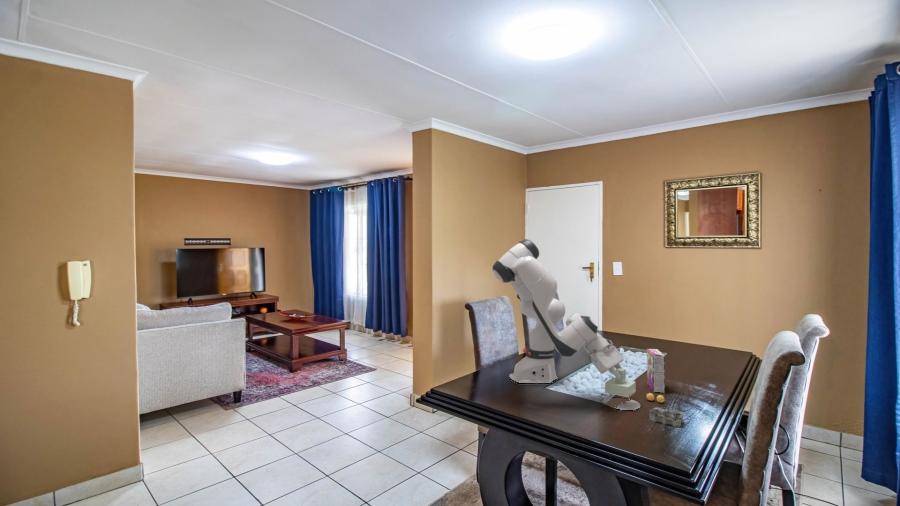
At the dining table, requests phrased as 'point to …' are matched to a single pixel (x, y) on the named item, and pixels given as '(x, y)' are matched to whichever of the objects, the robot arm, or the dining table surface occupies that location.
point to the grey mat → (628, 406)
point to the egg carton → (666, 416)
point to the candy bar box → (656, 370)
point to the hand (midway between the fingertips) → (622, 376)
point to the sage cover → (620, 385)
